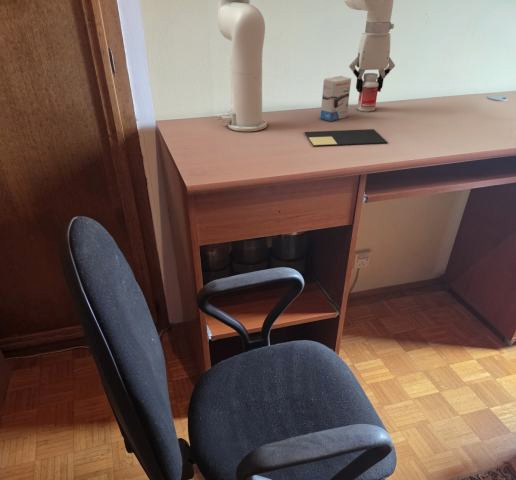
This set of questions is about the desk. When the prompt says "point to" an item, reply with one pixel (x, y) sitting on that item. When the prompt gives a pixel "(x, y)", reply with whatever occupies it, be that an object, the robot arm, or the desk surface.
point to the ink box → (335, 98)
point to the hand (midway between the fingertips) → (368, 90)
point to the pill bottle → (368, 92)
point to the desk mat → (345, 137)
